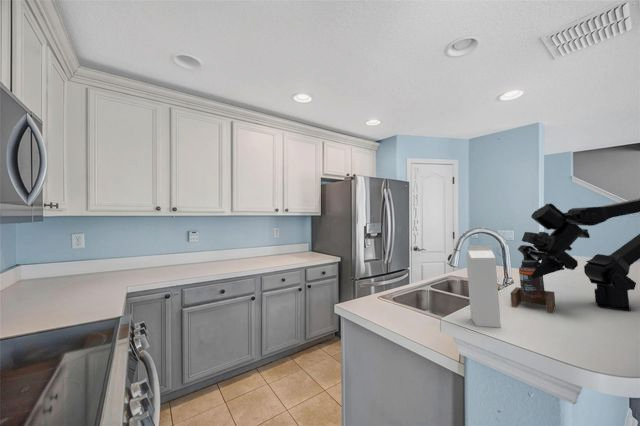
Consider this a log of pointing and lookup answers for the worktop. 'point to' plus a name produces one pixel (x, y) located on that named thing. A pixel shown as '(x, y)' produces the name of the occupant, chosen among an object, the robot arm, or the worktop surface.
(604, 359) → the worktop surface
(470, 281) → the milk
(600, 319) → the worktop surface
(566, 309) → the worktop surface
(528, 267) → the supplement bottle
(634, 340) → the worktop surface
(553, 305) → the u-shaped wooden frame
